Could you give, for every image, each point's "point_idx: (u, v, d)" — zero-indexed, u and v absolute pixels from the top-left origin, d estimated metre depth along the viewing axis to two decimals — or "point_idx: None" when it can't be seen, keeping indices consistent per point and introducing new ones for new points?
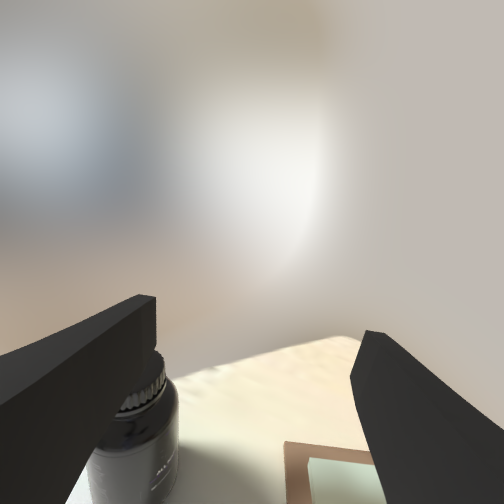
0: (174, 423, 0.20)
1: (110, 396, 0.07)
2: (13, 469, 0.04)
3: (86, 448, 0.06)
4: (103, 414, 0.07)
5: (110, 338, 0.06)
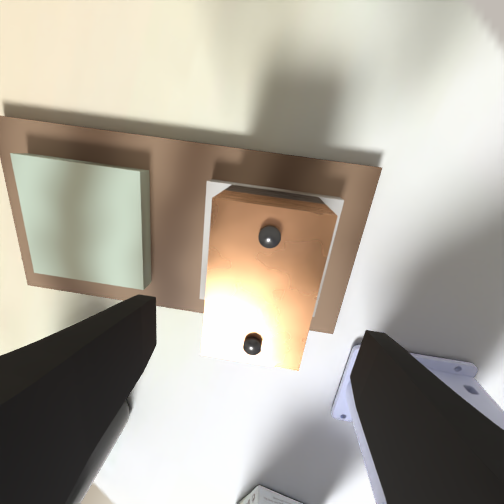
0: None
1: (110, 396, 0.07)
2: (13, 469, 0.04)
3: (85, 447, 0.06)
4: (103, 414, 0.07)
5: (110, 338, 0.06)
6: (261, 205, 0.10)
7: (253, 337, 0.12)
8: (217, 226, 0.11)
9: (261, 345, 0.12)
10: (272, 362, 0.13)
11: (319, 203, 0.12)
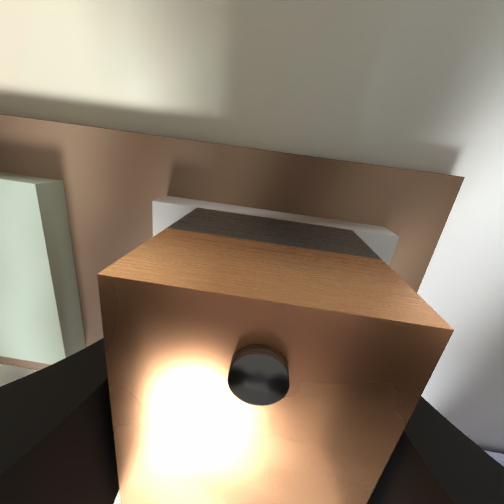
0: None
1: None
2: (73, 480, 0.04)
3: None
4: None
5: None
6: (235, 296, 0.04)
7: None
8: (122, 341, 0.04)
9: None
10: None
11: (368, 257, 0.06)
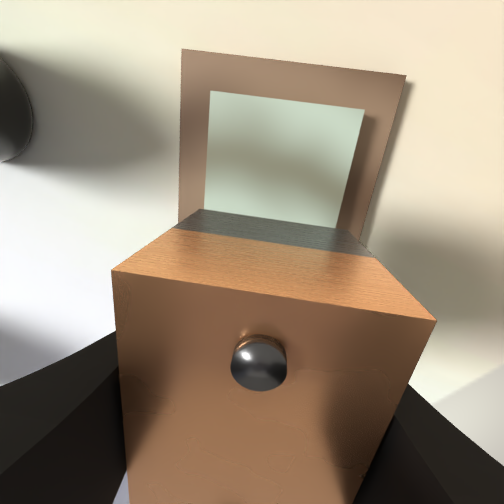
0: None
1: None
2: (73, 480, 0.04)
3: None
4: None
5: None
6: (237, 290, 0.04)
7: None
8: (132, 333, 0.04)
9: None
10: None
11: (362, 256, 0.06)
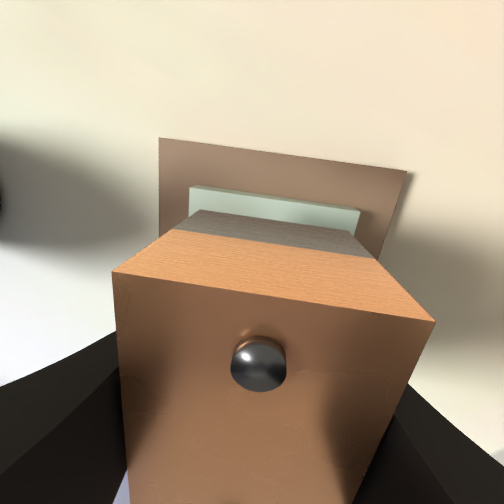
0: None
1: None
2: (73, 480, 0.04)
3: None
4: None
5: None
6: (237, 291, 0.04)
7: None
8: (133, 333, 0.04)
9: None
10: None
11: (362, 257, 0.06)
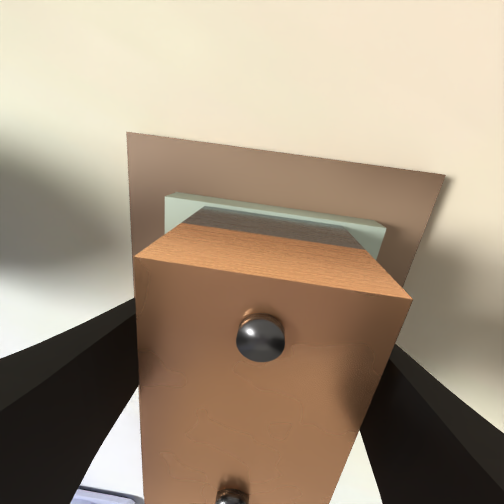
0: None
1: (114, 397, 0.07)
2: (19, 470, 0.04)
3: (90, 448, 0.06)
4: (107, 415, 0.07)
5: (114, 339, 0.06)
6: (242, 274, 0.05)
7: (232, 491, 0.07)
8: (150, 311, 0.05)
9: None
10: None
11: (354, 248, 0.07)
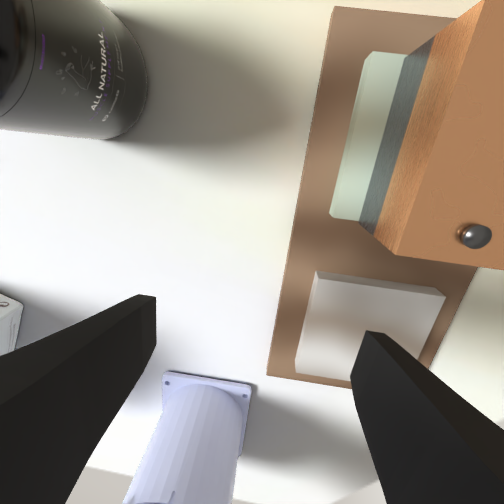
0: (46, 34, 0.08)
1: (110, 396, 0.07)
2: (13, 469, 0.04)
3: (86, 448, 0.06)
4: (103, 414, 0.07)
5: (110, 338, 0.06)
6: None
7: (477, 224, 0.09)
8: (479, 47, 0.08)
9: (487, 235, 0.10)
10: (491, 262, 0.10)
11: None
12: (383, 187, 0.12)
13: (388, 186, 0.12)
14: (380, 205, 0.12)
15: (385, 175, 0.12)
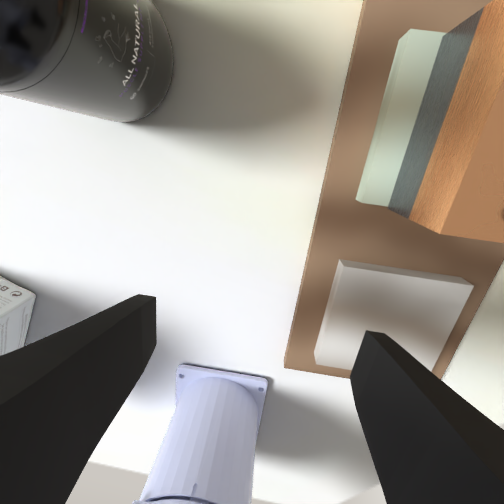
0: None
1: (110, 396, 0.07)
2: (13, 469, 0.04)
3: (85, 448, 0.06)
4: (103, 414, 0.07)
5: (110, 338, 0.06)
6: None
7: None
8: None
9: None
10: None
11: None
12: (419, 168, 0.12)
13: (427, 166, 0.11)
14: (416, 187, 0.12)
15: (422, 156, 0.12)
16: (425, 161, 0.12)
